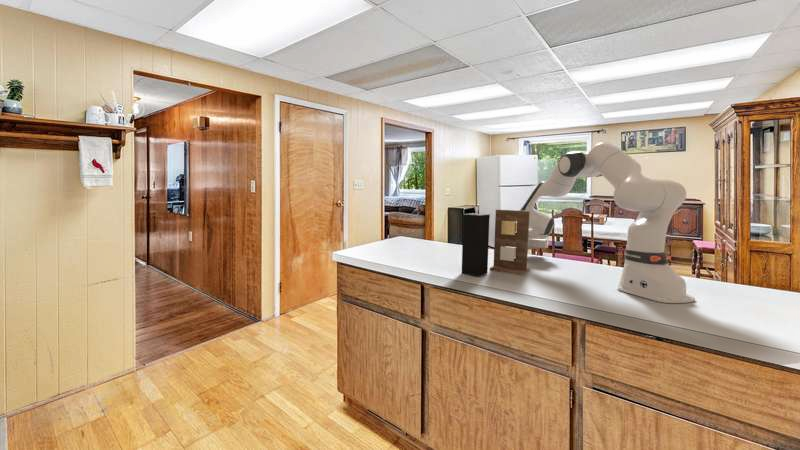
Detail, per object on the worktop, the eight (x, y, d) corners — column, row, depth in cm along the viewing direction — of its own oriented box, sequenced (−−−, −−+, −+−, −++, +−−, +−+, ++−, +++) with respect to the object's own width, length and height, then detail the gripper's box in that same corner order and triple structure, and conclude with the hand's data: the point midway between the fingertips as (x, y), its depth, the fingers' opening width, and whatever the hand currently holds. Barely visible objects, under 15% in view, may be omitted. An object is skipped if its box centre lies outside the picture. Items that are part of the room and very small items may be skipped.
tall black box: (487, 273, 150) (490, 206, 147) (477, 277, 144) (480, 207, 141) (471, 270, 155) (473, 205, 152) (461, 273, 150) (463, 206, 147)
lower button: (505, 257, 158) (505, 244, 158) (518, 258, 155) (518, 245, 155) (500, 259, 153) (500, 246, 152) (513, 261, 150) (513, 248, 149)
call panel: (497, 266, 164) (500, 208, 161) (529, 270, 156) (532, 210, 153) (489, 270, 156) (492, 210, 153) (522, 275, 148) (525, 211, 145)
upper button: (506, 232, 157) (506, 219, 157) (519, 233, 154) (519, 220, 153) (501, 233, 152) (501, 220, 151) (514, 235, 148) (515, 221, 148)
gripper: (508, 232, 184) (499, 235, 173) (551, 235, 173) (544, 238, 162) (508, 244, 185) (499, 248, 174) (550, 248, 174) (544, 252, 162)
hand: (521, 243), depth 168 cm, fingers closed
